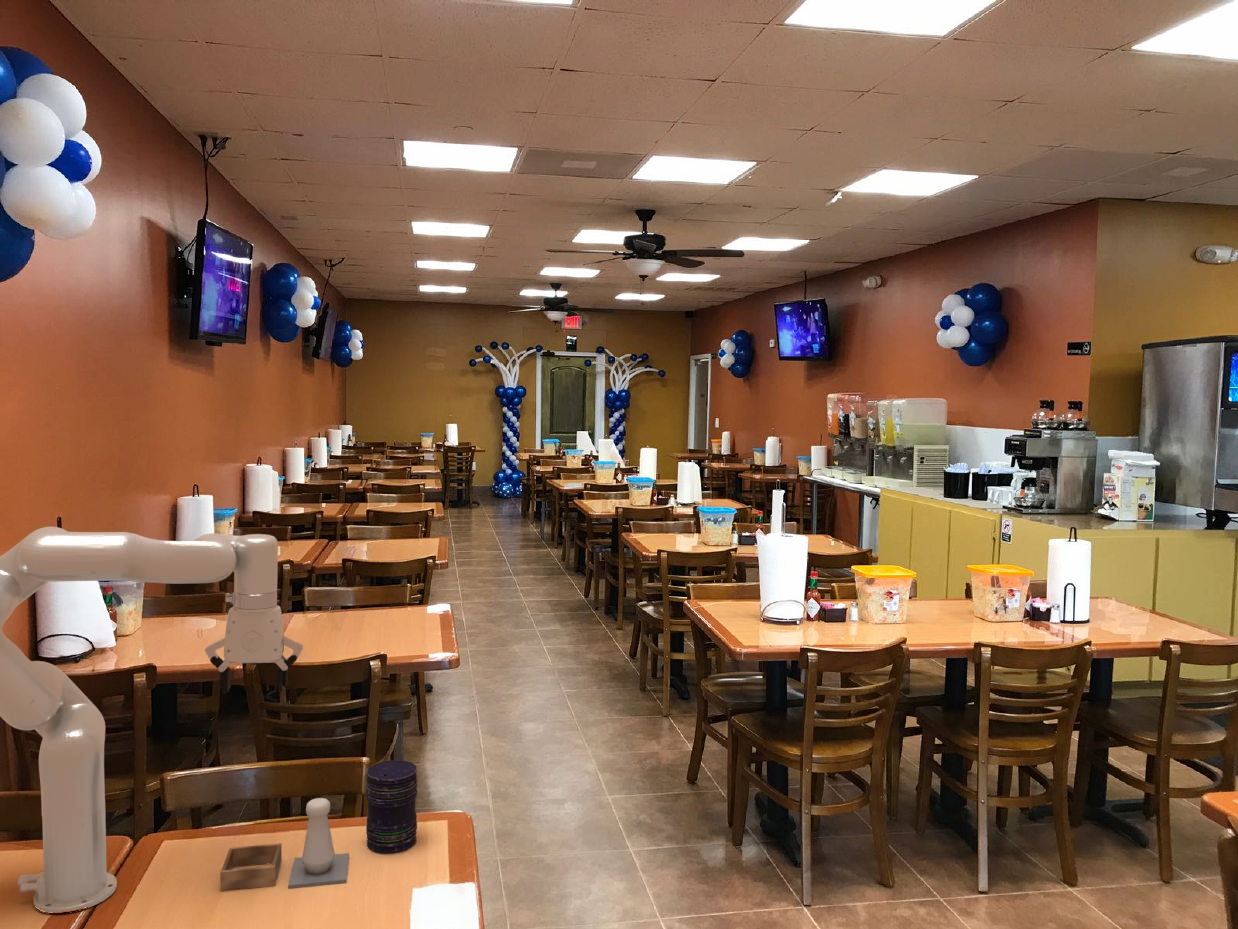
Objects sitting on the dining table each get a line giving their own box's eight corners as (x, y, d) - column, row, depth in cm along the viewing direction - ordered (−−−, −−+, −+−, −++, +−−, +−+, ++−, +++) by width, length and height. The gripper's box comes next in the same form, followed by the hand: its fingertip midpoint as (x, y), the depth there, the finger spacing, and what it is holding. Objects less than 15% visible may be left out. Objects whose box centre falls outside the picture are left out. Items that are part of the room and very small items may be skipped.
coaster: (288, 888, 165) (288, 885, 165) (294, 861, 174) (294, 858, 174) (345, 882, 167) (345, 879, 167) (348, 856, 177) (348, 853, 177)
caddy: (220, 891, 163) (220, 872, 163) (229, 865, 172) (229, 847, 172) (275, 886, 166) (274, 867, 165) (281, 861, 174) (281, 843, 174)
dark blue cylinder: (380, 828, 188) (380, 758, 187) (425, 834, 186) (425, 762, 185) (357, 851, 179) (357, 777, 178) (403, 857, 177) (404, 782, 176)
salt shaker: (324, 878, 167) (323, 809, 166) (295, 874, 168) (295, 806, 167) (340, 862, 173) (340, 796, 172) (312, 859, 174) (312, 793, 173)
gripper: (201, 605, 166) (200, 697, 167) (301, 604, 170) (299, 695, 171) (210, 596, 173) (209, 685, 174) (306, 596, 177) (304, 683, 178)
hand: (254, 690), depth 173 cm, fingers open, 9 cm apart
